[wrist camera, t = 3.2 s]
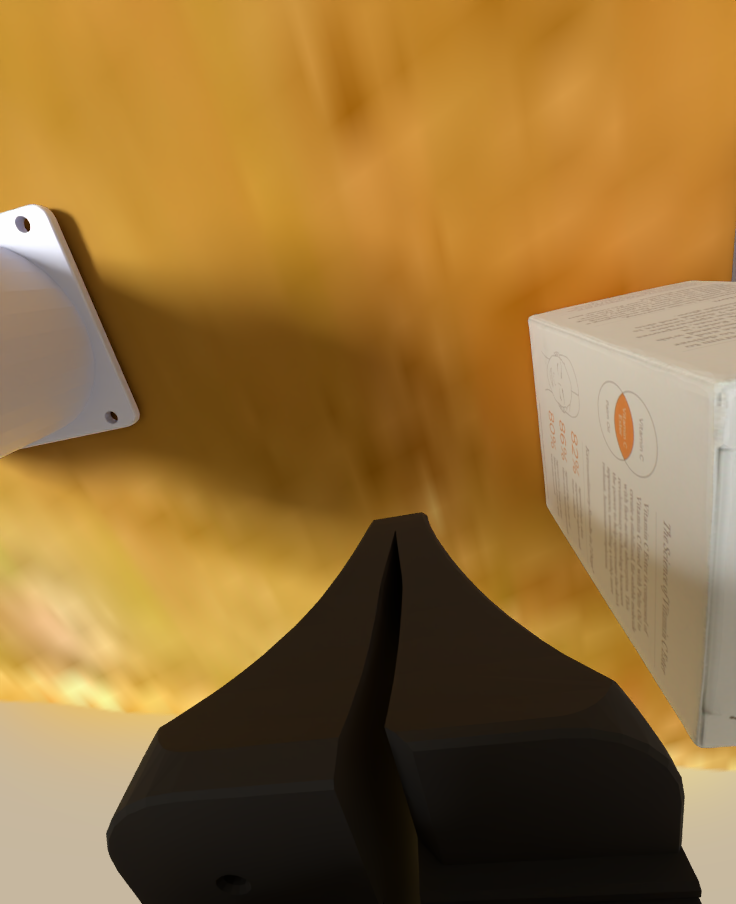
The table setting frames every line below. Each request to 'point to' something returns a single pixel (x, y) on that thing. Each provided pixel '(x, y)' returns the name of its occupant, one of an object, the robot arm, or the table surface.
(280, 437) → the table surface
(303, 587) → the table surface
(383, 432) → the table surface
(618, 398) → the small box
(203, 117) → the table surface
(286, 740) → the robot arm
